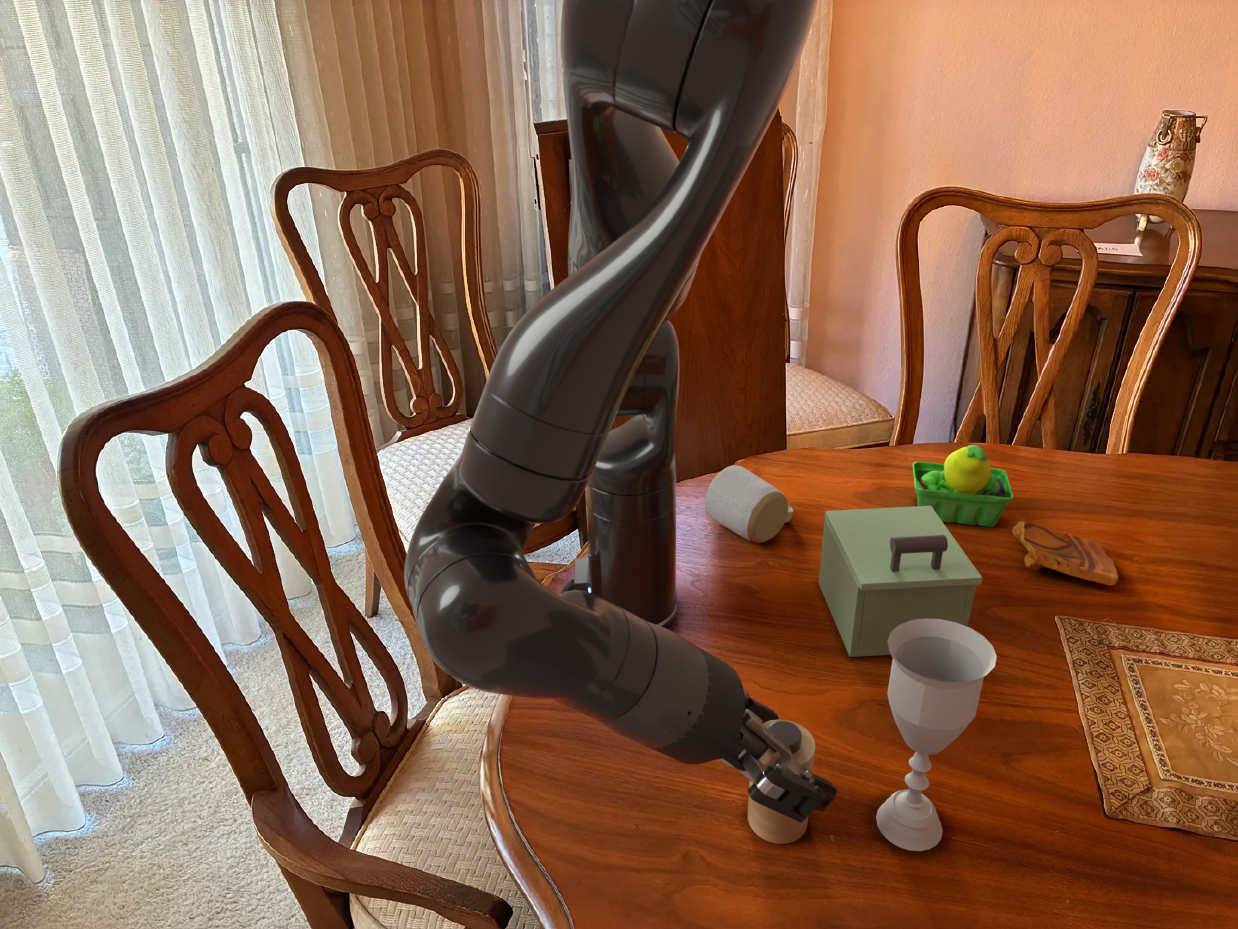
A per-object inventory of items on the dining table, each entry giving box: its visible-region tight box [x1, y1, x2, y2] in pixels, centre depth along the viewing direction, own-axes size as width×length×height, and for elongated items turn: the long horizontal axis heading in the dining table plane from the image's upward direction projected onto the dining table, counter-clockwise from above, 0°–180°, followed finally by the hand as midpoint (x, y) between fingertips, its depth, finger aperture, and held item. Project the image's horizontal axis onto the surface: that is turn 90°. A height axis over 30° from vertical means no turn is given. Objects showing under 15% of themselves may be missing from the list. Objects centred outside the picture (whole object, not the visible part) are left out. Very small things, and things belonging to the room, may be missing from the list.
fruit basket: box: [912, 444, 1014, 528], centre depth 106 cm, size 11×9×11 cm
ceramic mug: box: [704, 464, 794, 544], centre depth 107 cm, size 11×8×8 cm
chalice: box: [875, 618, 998, 852], centre depth 64 cm, size 7×7×18 cm
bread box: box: [818, 517, 977, 658], centre depth 90 cm, size 13×12×9 cm
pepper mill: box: [747, 719, 817, 845], centre depth 67 cm, size 5×5×10 cm
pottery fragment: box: [1011, 520, 1119, 586], centre depth 98 cm, size 10×5×10 cm
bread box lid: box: [824, 505, 983, 591], centre depth 86 cm, size 13×12×4 cm
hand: (797, 759), depth 67 cm, fingers open, 7 cm apart
